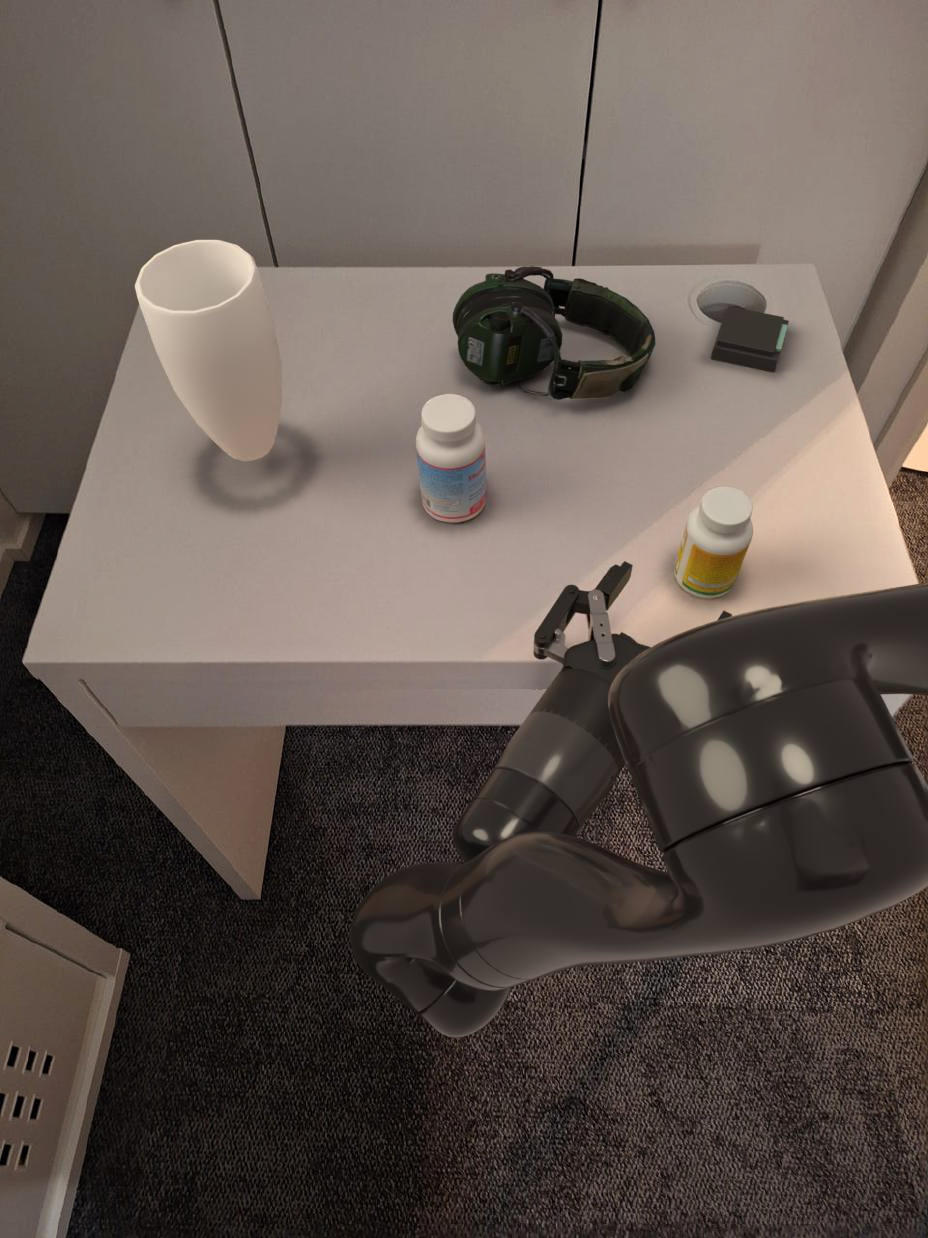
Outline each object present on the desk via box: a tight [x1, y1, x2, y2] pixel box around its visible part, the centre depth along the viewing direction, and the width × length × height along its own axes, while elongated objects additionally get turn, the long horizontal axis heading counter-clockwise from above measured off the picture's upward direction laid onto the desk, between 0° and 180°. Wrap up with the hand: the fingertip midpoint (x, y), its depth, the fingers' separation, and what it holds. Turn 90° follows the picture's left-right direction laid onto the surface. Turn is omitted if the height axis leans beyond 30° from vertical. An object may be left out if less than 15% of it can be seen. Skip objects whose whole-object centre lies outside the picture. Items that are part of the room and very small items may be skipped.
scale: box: [710, 305, 790, 373], centre depth 96 cm, size 7×7×2 cm
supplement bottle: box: [674, 486, 754, 599], centre depth 77 cm, size 5×5×10 cm
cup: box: [134, 239, 283, 462], centre depth 81 cm, size 10×10×22 cm
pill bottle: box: [415, 393, 487, 523], centre depth 82 cm, size 6×6×11 cm
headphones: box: [452, 265, 656, 401], centre depth 93 cm, size 13×13×20 cm
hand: (675, 592), depth 71 cm, fingers open, 8 cm apart
